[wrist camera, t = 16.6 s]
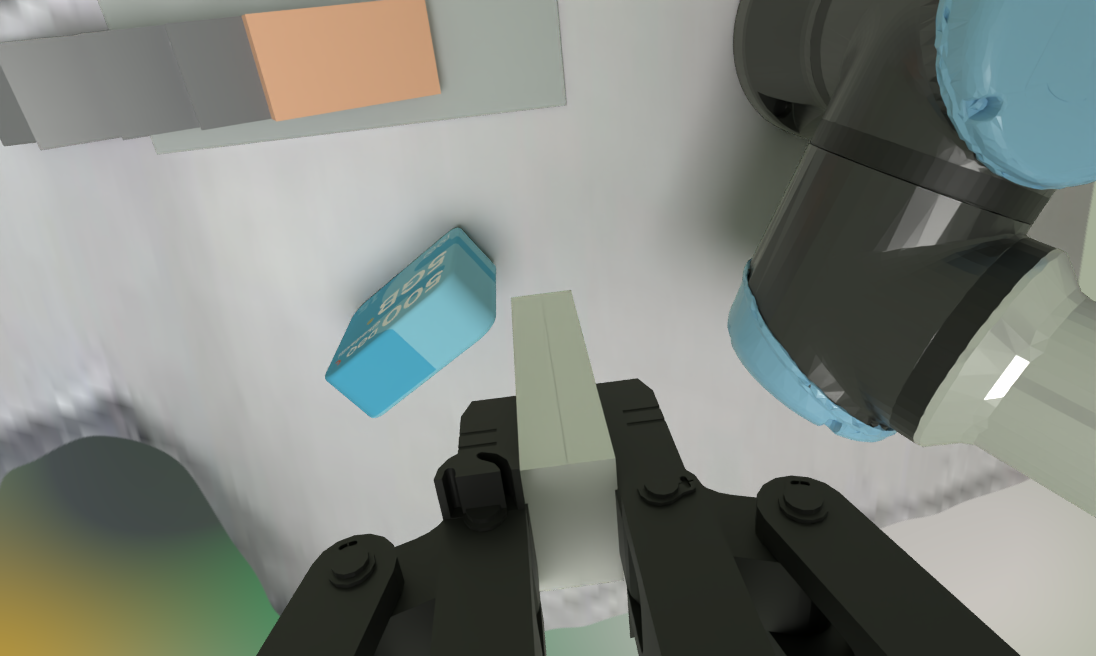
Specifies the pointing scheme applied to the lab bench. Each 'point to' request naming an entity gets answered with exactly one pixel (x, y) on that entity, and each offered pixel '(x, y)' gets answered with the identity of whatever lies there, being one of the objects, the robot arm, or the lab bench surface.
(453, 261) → the data package
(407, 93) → the domino
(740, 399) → the lab bench surface
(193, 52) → the domino
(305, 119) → the mat
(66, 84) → the domino
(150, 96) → the domino
